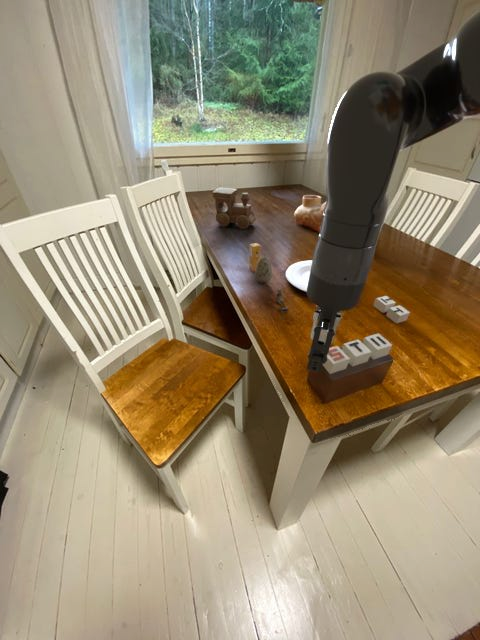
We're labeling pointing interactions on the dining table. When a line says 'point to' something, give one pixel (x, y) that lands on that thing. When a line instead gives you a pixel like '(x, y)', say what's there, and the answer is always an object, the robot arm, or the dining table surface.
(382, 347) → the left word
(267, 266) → the decorative egg
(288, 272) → the plate
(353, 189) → the robot arm
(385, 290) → the dining table surface
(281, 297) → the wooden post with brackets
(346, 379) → the tile rack
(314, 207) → the ceramic vessel
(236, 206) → the wooden toy train
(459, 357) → the dining table surface
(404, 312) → the letter cube pair
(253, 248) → the supplement box
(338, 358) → the tile
